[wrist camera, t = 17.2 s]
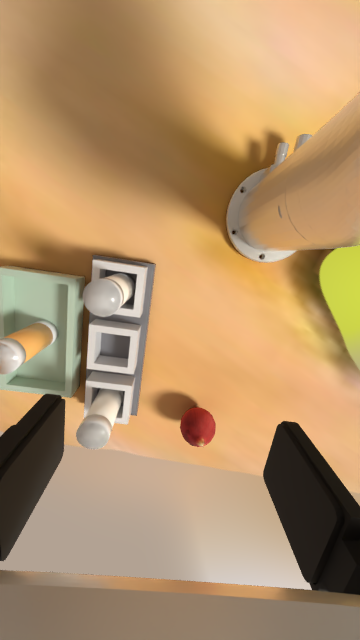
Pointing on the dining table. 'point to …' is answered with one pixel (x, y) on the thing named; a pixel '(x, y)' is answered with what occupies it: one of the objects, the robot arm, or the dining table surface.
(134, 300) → the fuse holder
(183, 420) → the onion
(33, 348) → the marked fuse
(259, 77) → the dining table surface
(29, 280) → the tray
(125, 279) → the cylinder
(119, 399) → the cylinder
